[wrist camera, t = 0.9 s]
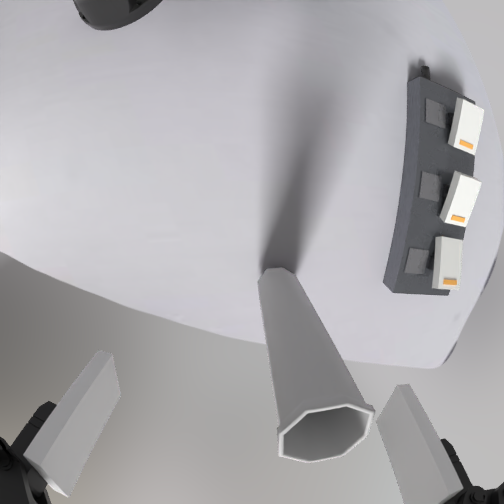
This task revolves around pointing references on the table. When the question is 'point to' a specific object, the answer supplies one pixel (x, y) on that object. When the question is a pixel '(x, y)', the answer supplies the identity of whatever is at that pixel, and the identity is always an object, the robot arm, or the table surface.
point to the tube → (308, 376)
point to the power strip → (425, 186)
